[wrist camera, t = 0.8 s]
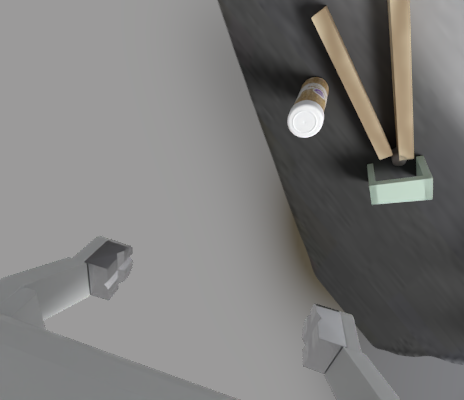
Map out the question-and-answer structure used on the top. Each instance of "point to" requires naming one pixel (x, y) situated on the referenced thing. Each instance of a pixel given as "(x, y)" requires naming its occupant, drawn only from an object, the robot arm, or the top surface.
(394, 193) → the sleeve
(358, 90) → the tong arm
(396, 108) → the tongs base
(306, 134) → the sprinkles bottle
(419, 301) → the top surface
